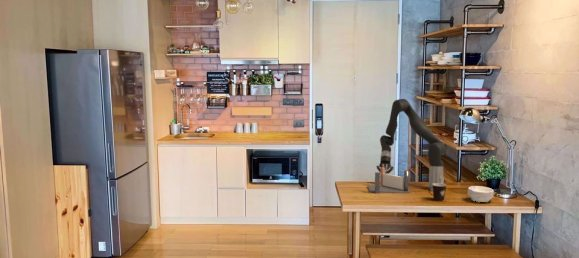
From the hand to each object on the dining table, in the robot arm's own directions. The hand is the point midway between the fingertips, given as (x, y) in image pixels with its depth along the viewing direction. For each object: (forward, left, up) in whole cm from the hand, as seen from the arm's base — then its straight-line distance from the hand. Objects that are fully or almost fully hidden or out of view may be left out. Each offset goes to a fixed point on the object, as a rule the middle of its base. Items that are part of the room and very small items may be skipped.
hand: (384, 177), depth 332 cm
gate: (-8, +7, -4) cm, 12 cm away
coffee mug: (-43, +18, -6) cm, 47 cm away
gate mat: (-7, +10, -6) cm, 14 cm away
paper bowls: (-67, +5, -6) cm, 67 cm away
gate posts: (-12, +16, -6) cm, 21 cm away
